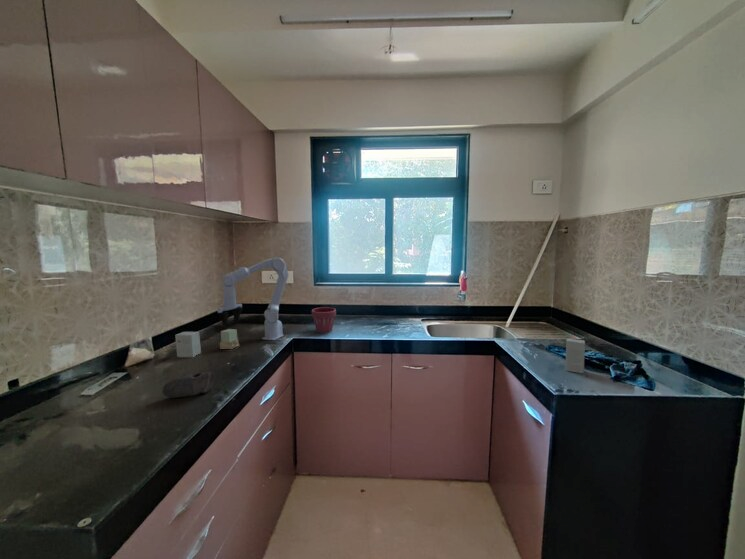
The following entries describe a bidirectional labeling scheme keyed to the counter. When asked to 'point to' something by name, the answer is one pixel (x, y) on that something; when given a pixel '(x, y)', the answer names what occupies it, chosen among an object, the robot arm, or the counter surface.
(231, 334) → the sage cube
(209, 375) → the perforated stone tool
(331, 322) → the plant pot
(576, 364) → the skincare box
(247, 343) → the counter surface
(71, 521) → the counter surface
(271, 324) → the robot arm
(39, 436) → the counter surface
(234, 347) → the slab bottom
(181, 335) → the small box
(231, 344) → the slab top
